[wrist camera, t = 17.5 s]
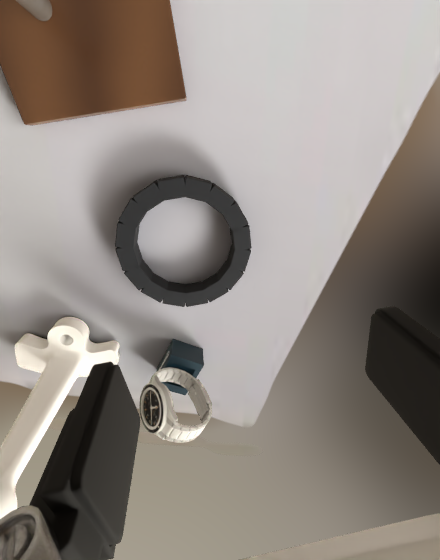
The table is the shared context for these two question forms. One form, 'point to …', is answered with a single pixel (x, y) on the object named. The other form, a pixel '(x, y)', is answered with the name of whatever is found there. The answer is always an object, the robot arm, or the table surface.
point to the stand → (88, 57)
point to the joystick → (46, 392)
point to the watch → (177, 378)
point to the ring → (159, 286)
